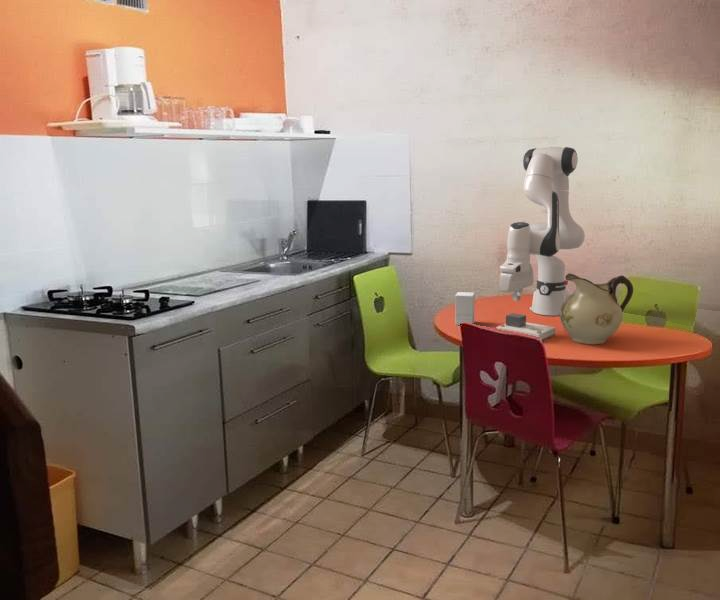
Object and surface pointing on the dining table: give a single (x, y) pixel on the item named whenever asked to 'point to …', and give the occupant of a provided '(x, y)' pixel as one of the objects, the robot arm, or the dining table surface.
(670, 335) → the dining table surface
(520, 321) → the plug
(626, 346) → the dining table surface
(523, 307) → the dining table surface
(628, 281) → the pitcher
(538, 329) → the double socket
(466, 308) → the supplement box
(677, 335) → the dining table surface
